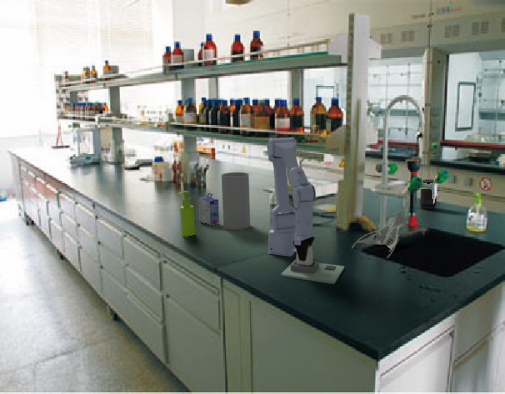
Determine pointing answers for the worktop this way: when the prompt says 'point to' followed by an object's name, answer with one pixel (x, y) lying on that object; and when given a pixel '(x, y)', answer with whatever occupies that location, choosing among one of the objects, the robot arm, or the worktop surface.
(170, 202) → the worktop surface
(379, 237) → the skeletal model
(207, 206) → the ink cartridge box
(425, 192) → the camera lens
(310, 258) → the keyed plug
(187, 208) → the soap dispenser
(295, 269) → the white board with tray
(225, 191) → the cylinder vase
